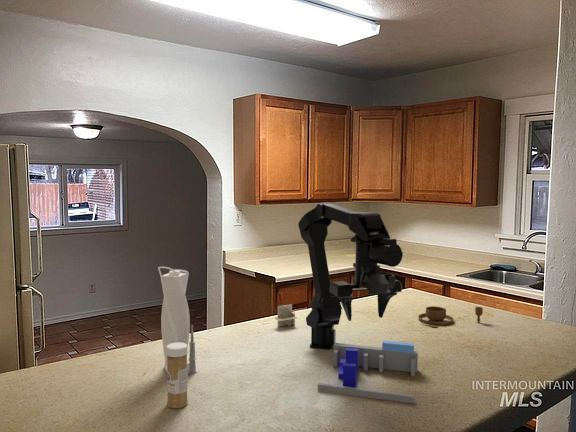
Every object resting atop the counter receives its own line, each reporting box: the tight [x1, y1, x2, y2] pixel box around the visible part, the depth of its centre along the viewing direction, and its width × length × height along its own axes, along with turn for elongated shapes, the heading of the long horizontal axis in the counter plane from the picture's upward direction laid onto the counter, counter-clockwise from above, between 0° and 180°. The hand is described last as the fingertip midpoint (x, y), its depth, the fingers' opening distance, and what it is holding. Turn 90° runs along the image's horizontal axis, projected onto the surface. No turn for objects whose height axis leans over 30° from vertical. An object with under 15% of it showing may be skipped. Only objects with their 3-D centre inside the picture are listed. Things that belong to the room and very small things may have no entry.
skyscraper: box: [157, 266, 198, 376], centre depth 125 cm, size 8×8×28 cm
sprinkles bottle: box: [166, 342, 189, 409], centre depth 106 cm, size 5×5×13 cm
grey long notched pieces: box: [317, 340, 419, 404], centre depth 120 cm, size 22×20×7 cm
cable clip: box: [338, 348, 359, 388], centre depth 120 cm, size 12×4×6 cm, turn 169°
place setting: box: [417, 305, 484, 329], centre depth 168 cm, size 18×20×6 cm
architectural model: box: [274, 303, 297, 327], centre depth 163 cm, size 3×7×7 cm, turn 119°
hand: (365, 318), depth 128 cm, fingers open, 9 cm apart
